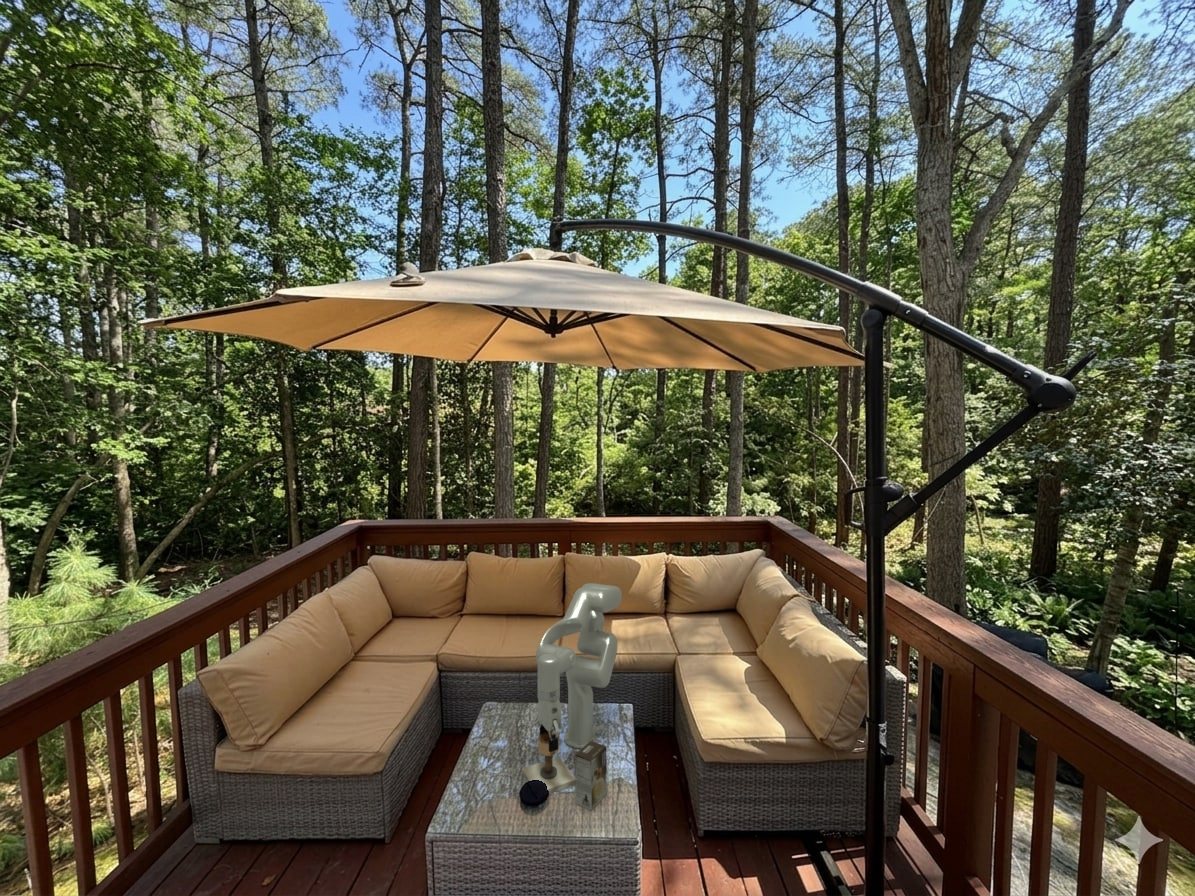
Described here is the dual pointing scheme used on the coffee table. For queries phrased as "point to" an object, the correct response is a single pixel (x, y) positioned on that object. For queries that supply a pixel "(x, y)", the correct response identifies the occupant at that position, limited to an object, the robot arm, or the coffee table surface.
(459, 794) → the coffee table surface
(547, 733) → the beige thick ring
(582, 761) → the coffee box
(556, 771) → the post board
